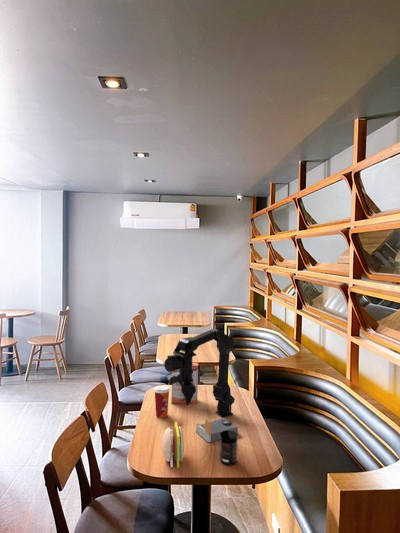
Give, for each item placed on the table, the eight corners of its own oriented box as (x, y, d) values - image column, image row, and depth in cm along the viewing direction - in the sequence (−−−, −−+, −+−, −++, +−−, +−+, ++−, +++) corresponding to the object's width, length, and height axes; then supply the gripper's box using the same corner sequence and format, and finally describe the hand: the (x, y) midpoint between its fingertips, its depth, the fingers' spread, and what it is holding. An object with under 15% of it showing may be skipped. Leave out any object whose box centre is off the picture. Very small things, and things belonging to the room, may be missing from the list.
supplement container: (239, 458, 144) (239, 432, 144) (234, 467, 138) (235, 440, 137) (222, 454, 146) (222, 429, 146) (217, 464, 140) (217, 437, 140)
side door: (198, 431, 165) (198, 412, 165) (211, 442, 156) (211, 421, 156) (195, 432, 164) (196, 412, 164) (208, 443, 155) (208, 422, 155)
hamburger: (161, 451, 148) (161, 422, 148) (181, 450, 149) (182, 421, 149) (163, 469, 136) (163, 437, 136) (185, 467, 138) (185, 435, 137)
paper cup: (167, 419, 177) (167, 391, 176) (151, 418, 178) (152, 389, 178) (171, 412, 184) (171, 385, 184) (156, 411, 186) (157, 384, 185)
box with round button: (224, 425, 172) (224, 416, 172) (237, 434, 163) (237, 425, 163) (199, 432, 164) (199, 423, 164) (211, 442, 156) (211, 432, 156)
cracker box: (171, 403, 195) (171, 365, 195) (172, 399, 201) (172, 361, 201) (197, 404, 195) (198, 365, 194) (197, 399, 201) (198, 362, 201)
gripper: (166, 361, 174) (166, 393, 175) (170, 374, 156) (170, 410, 156) (190, 360, 176) (190, 392, 177) (196, 373, 157) (196, 409, 158)
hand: (186, 400), depth 167 cm, fingers open, 9 cm apart
